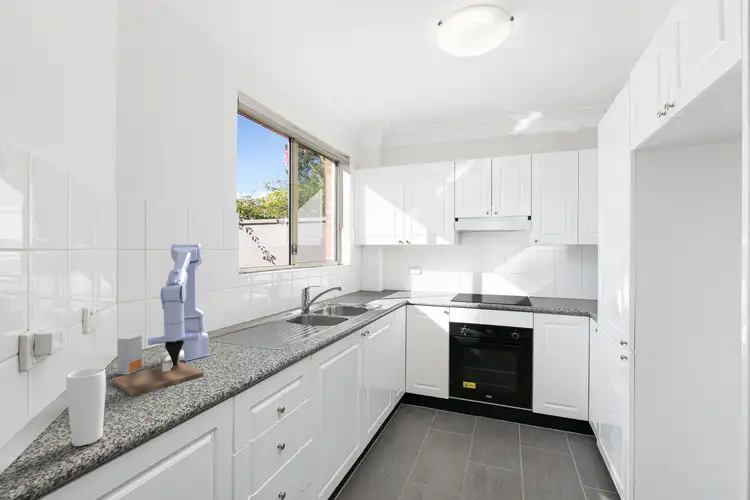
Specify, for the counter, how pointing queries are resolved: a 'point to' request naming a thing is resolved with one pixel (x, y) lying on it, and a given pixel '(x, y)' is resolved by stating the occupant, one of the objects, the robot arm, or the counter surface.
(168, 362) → the white long piece
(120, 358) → the skincare box
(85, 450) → the counter surface
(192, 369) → the board
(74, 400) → the white tumbler
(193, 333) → the robot arm
